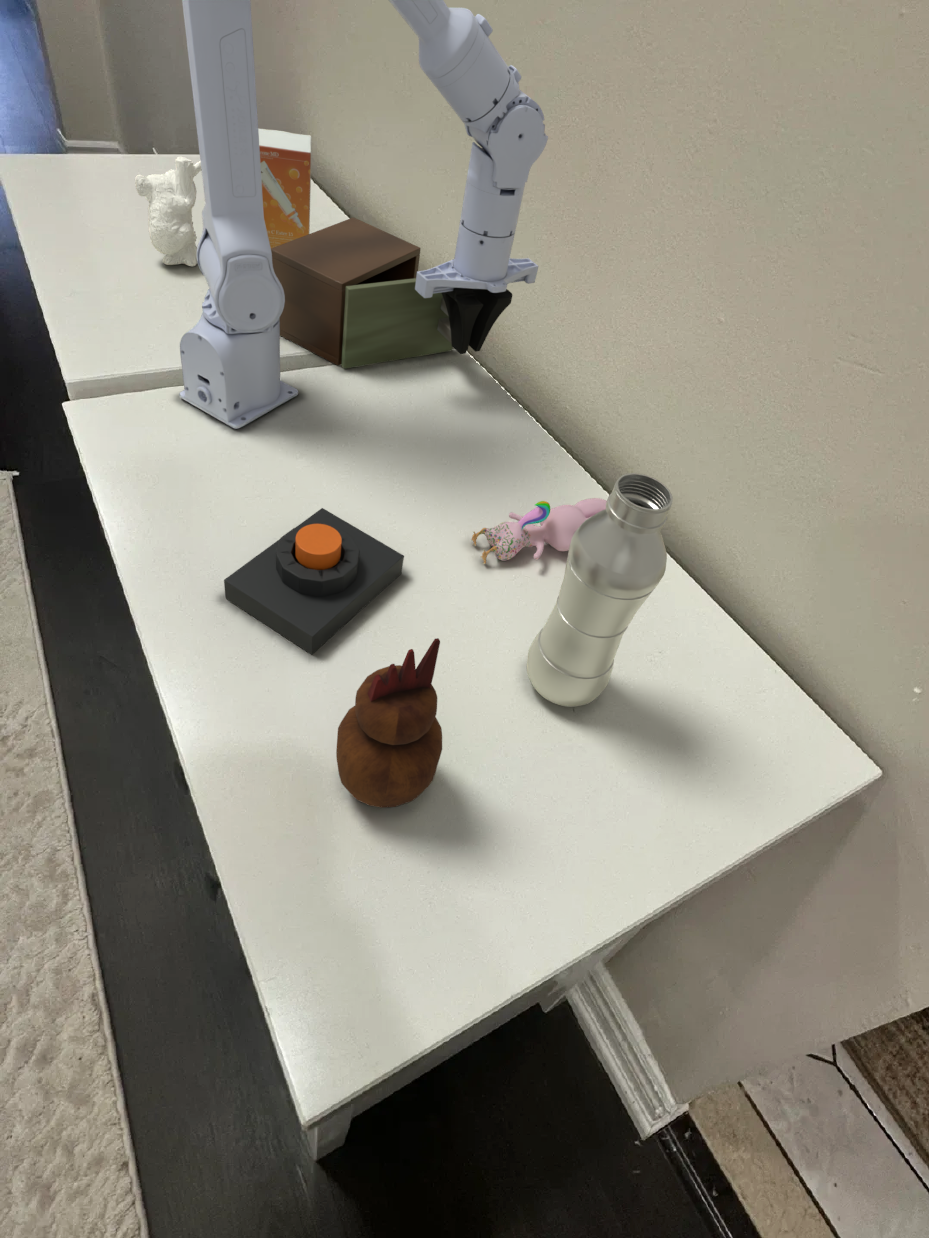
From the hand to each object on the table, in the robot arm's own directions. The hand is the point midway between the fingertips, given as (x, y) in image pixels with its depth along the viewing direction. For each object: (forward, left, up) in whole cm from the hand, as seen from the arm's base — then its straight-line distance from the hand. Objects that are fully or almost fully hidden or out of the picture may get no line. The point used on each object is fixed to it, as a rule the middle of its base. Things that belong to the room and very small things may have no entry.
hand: (465, 348), depth 88 cm
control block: (-37, -9, -4) cm, 39 cm away
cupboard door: (-3, +5, -4) cm, 7 cm away
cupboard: (-2, +16, -4) cm, 17 cm away
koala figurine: (-5, +40, -4) cm, 41 cm away
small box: (+9, +36, -4) cm, 37 cm away
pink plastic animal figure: (-19, -22, -4) cm, 29 cm away
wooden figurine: (-49, -25, -4) cm, 55 cm away
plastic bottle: (-33, -31, -4) cm, 45 cm away
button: (-37, -10, 0) cm, 38 cm away
